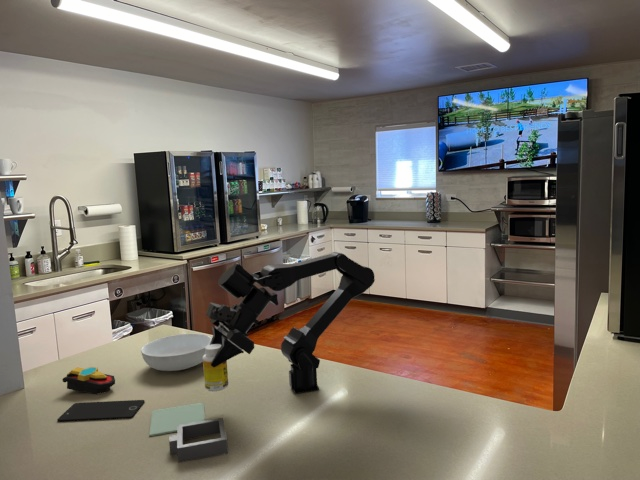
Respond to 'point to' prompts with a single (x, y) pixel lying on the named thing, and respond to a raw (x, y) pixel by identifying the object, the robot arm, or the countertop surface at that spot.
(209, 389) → the supplement bottle
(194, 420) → the mat
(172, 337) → the serving bowl
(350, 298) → the robot arm
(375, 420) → the countertop surface
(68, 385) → the gadget
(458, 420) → the countertop surface
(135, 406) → the cell phone
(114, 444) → the countertop surface
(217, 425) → the collar
